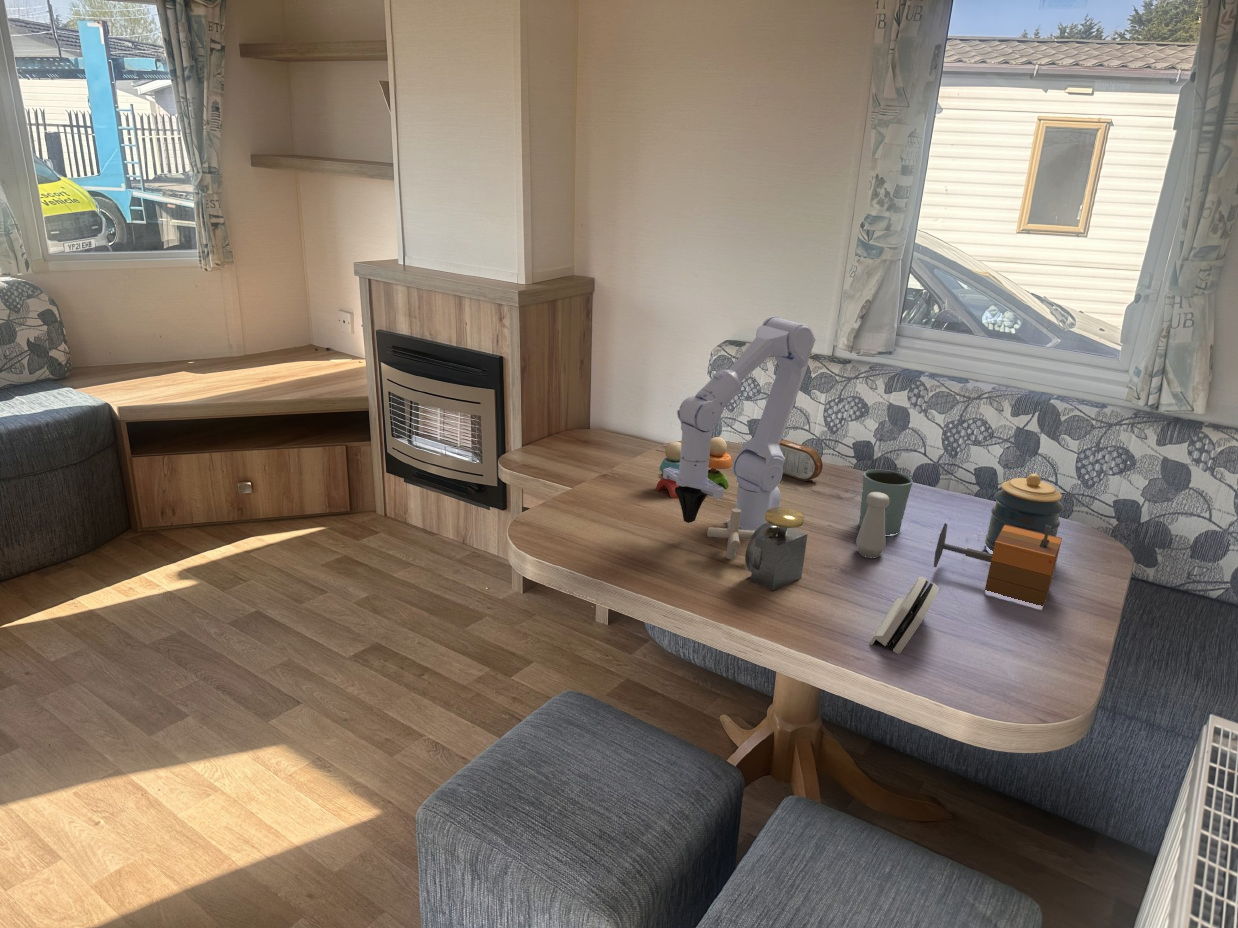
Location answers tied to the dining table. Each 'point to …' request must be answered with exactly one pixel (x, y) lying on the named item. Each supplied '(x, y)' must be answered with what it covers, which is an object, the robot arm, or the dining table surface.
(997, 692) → the dining table surface
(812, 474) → the tin
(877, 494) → the salt shaker
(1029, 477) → the canister
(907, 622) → the beige slotted block
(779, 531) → the kitchen scale
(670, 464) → the colourful wooden stacking toy
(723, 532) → the pipe connector
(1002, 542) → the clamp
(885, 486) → the green cup
